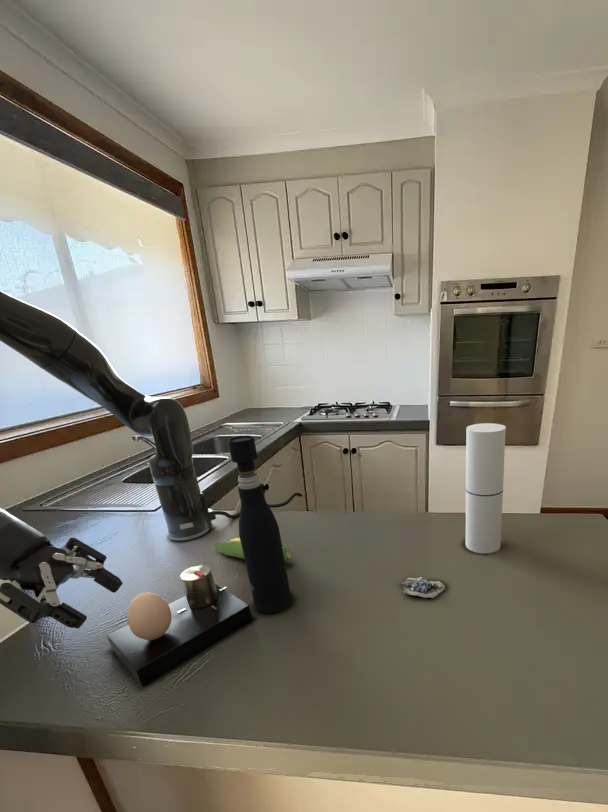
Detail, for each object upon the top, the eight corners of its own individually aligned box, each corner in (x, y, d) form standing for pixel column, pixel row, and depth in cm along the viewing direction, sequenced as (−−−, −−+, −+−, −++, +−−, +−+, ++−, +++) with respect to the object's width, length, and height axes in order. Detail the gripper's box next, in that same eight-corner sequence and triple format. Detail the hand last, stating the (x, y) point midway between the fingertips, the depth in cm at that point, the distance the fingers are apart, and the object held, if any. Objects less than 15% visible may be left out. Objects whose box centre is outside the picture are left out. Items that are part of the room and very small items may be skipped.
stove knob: (183, 602, 72) (174, 573, 70) (208, 588, 76) (200, 560, 73) (197, 611, 69) (188, 582, 67) (223, 597, 73) (215, 568, 70)
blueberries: (398, 580, 79) (397, 571, 78) (440, 575, 79) (440, 567, 78) (404, 602, 72) (403, 593, 72) (449, 596, 73) (449, 587, 72)
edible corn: (283, 573, 84) (279, 553, 82) (210, 557, 93) (205, 538, 91) (298, 560, 88) (295, 541, 87) (226, 546, 97) (222, 528, 95)
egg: (138, 630, 66) (123, 589, 63) (177, 619, 68) (165, 579, 65) (132, 654, 61) (116, 611, 58) (175, 642, 63) (161, 599, 60)
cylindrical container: (462, 551, 87) (462, 431, 77) (468, 535, 93) (470, 422, 83) (498, 555, 84) (503, 432, 75) (502, 539, 90) (507, 423, 81)
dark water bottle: (298, 594, 77) (270, 433, 65) (279, 616, 71) (245, 444, 60) (267, 590, 79) (235, 433, 68) (247, 611, 73) (209, 443, 62)
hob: (217, 593, 79) (213, 578, 78) (255, 618, 71) (251, 602, 70) (111, 648, 67) (105, 633, 66) (142, 687, 59) (135, 669, 58)
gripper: (-43, 547, 51) (81, 620, 55) (45, 501, 64) (140, 563, 68) (-63, 586, 53) (57, 654, 57) (26, 534, 66) (118, 592, 70)
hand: (102, 604), depth 62 cm, fingers open, 8 cm apart
